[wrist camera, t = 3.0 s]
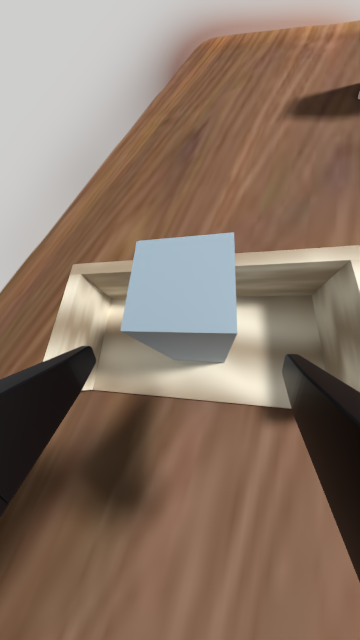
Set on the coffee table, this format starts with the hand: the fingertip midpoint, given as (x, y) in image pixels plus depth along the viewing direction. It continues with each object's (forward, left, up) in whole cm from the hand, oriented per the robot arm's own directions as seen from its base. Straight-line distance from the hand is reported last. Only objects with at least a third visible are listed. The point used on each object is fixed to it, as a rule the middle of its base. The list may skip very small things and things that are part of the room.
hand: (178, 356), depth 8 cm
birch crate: (+3, -1, -10) cm, 11 cm away
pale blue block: (+3, -1, -10) cm, 10 cm away
